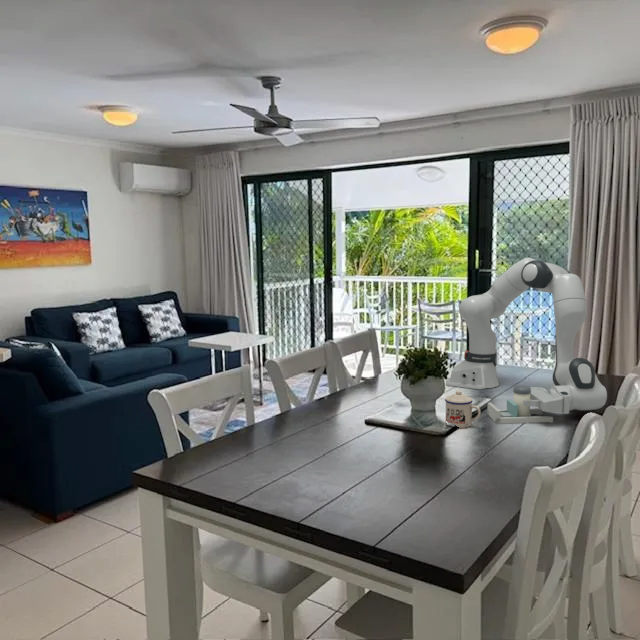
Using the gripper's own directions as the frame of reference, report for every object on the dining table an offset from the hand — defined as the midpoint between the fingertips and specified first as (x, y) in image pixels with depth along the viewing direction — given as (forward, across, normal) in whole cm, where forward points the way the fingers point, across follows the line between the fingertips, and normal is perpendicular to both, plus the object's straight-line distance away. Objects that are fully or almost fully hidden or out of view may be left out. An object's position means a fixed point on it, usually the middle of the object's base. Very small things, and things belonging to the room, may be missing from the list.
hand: (519, 399), depth 211 cm
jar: (-1, 0, +7) cm, 7 cm away
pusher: (+4, 0, +7) cm, 8 cm away
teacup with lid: (+21, +6, +7) cm, 23 cm away
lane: (-1, 0, +7) cm, 7 cm away
